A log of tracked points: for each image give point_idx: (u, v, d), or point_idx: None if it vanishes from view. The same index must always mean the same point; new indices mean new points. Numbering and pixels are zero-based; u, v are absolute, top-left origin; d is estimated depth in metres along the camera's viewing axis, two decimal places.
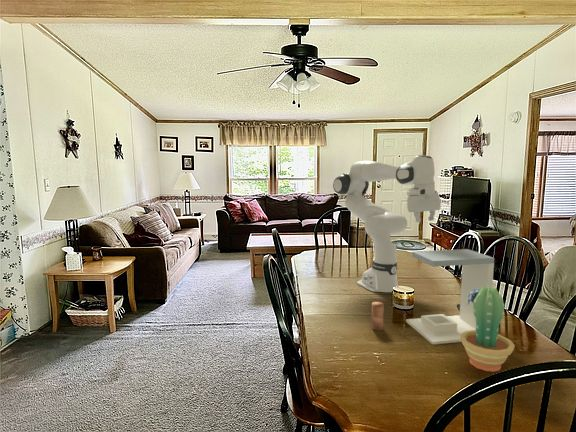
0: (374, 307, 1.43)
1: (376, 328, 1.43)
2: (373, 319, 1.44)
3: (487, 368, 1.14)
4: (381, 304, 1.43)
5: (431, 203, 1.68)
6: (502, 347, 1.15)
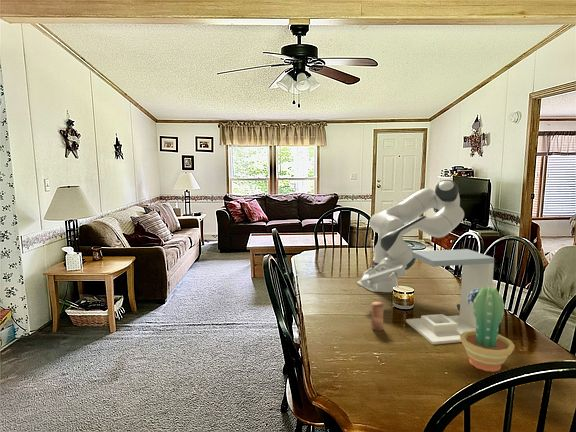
0: (374, 307, 1.43)
1: (376, 328, 1.43)
2: (373, 319, 1.44)
3: (487, 368, 1.14)
4: (381, 304, 1.43)
5: (387, 270, 1.63)
6: (502, 347, 1.15)
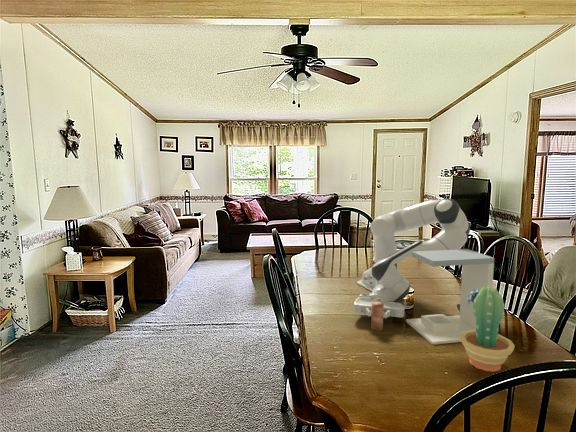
0: (374, 307, 1.43)
1: (376, 328, 1.43)
2: (373, 319, 1.44)
3: (487, 368, 1.14)
4: (381, 304, 1.43)
5: (385, 304, 1.50)
6: (502, 347, 1.15)
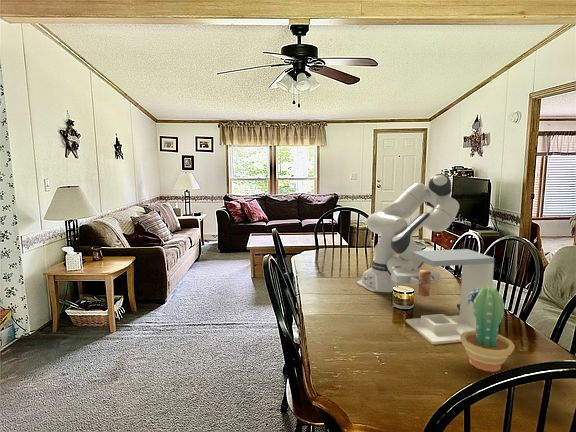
0: (425, 274, 1.52)
1: (426, 294, 1.53)
2: (423, 286, 1.53)
3: (487, 368, 1.14)
4: (428, 271, 1.54)
5: None
6: (502, 347, 1.15)
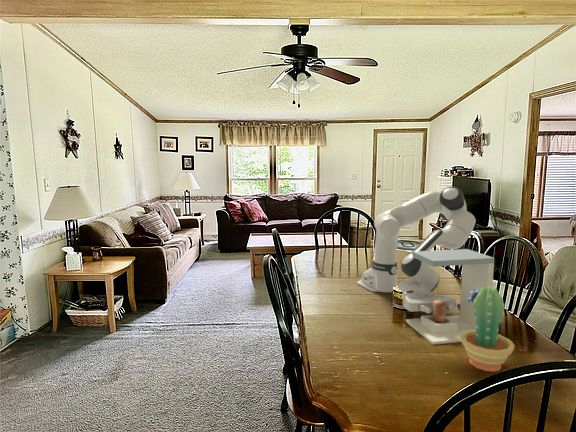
0: (439, 306, 1.40)
1: None
2: (437, 319, 1.41)
3: (487, 368, 1.14)
4: (443, 302, 1.42)
5: (435, 298, 1.50)
6: (502, 347, 1.15)
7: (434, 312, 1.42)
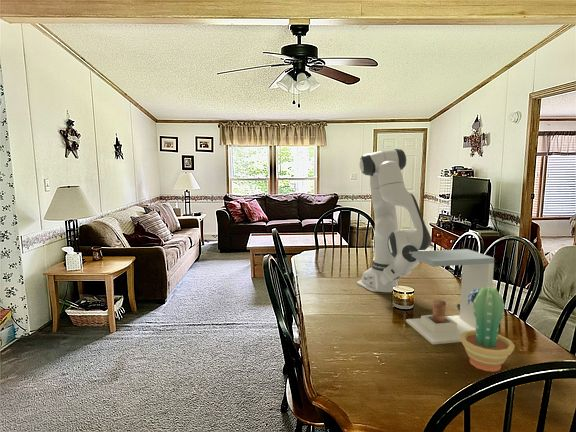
0: (439, 306, 1.40)
1: None
2: (437, 319, 1.41)
3: (487, 368, 1.14)
4: (443, 302, 1.42)
5: None
6: (502, 347, 1.15)
7: (434, 312, 1.42)
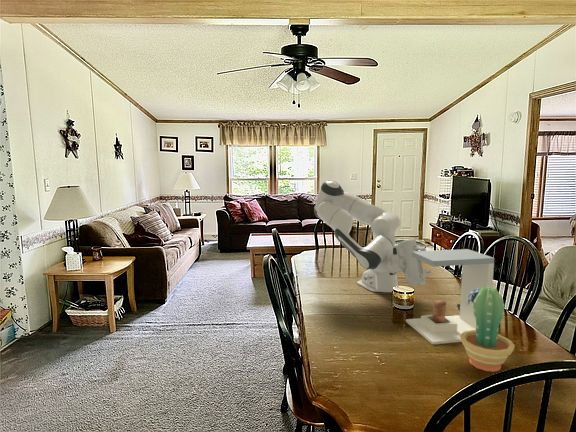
0: (439, 306, 1.40)
1: None
2: (437, 319, 1.41)
3: (487, 368, 1.14)
4: (443, 302, 1.42)
5: None
6: (502, 347, 1.15)
7: (434, 312, 1.42)
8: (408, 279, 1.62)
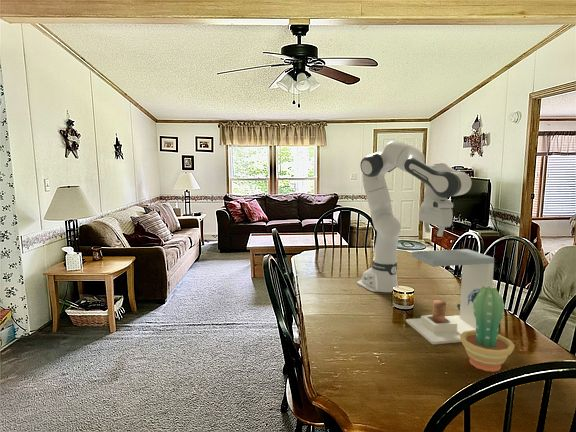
0: (439, 306, 1.40)
1: None
2: (437, 319, 1.41)
3: (487, 368, 1.14)
4: (443, 302, 1.42)
5: None
6: (502, 346, 1.15)
7: (434, 312, 1.42)
8: (421, 207, 1.64)
